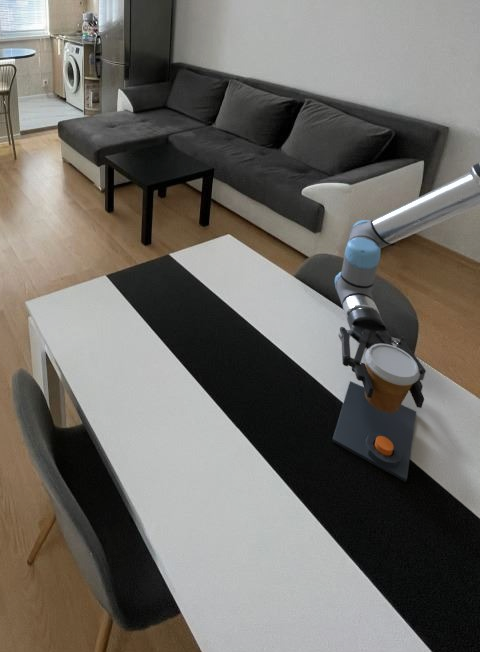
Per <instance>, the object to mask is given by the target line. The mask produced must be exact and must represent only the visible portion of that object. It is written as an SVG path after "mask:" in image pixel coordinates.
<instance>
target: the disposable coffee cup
mask: <svg viewBox="0 0 480 652" xmlns="http://www.w3.org/2000/svg"><path fill="white" fill-rule="evenodd" d="M364 358H365V365H366V368H367V371H368V374H369V376H370V379H371V382H372V385H373V388H374V390H373V394H372V398H369V397H367V395H366V392H365V397H366V399H367V400H368V402H369V403H370V404H371V405H372V406H374V407H375V408H377V409H379V410H381V411H383V412H387V413H393V412H396V411H397V410H398V409H399V407H400V405H403V404H402V403H403V402H404V400H405V399H406V397H407V395H408V394H409V392H410V388H411V386H412V385H413V383H415V382H416V381H417V380H418V379H419V376H420V373H419V369H418V366H417V363H416V362H415V360H414V359H413V358H412V357H411V356H410V355H409V354H408V353H406V352H405V351H403V350H401V349H400V348H397V347H396V346H395V345H393V346H392V345H389V344H375V345H372V346H371V347H370V348H369V349H367V348H366V350H365V351H364Z"/></svg>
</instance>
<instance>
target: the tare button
mask: <svg viewBox="0 0 480 652" xmlns="http://www.w3.org/2000/svg"><path fill="white" fill-rule="evenodd" d="M375 448H376V450H377V451H378V452H379V453H381V454H382V455H384V456H390V455H391V454H392V452H393V449H394V446H393V443H392V442H391V441H390V440H389V439H388V438H386V437H383V436H378V437H377V438H376V441H375Z"/></svg>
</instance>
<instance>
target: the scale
mask: <svg viewBox="0 0 480 652" xmlns="http://www.w3.org/2000/svg"><path fill="white" fill-rule="evenodd" d="M345 393H346V394H345V396H344V399H343V403H342V406H341V410H340V413H339V417H338V420H337V423H336V426H335V430H334V433H333V437H332V440H331V441H332V443H334V444H336V445H338V446H340V447H342V448H343V449H345V450H347V451H349V452H350V453H352V454H353V455H356V456H357V457H359V458H361V459H363V460H365V461H366V462H368V463H370V464H372V465H374V466H376V467H377V468H379V469H381V470H383V471H384V472H386V473H389V474H390V475H392V476H394V477H396V478H398V479H399V480H400V481H403V482H405V483H407V480H408V477H409V476H408V475H409V468H410V460H411V453H412V447H413V439H414V431H415V424H416V417H417V411H416V410H414V409H411V408H410V407H407V406H405V405H403V404H401V405H400V407H399V409H398V410H397V411H396V412H393V413H387V412H383V411H381V410H379V409H377V408H375V407H374V406H372V405H371V404H370V403H369V402H368V400H367V399H366V397H365V389H364V386H362V385H360V384H358V383H356V382H353V381H352V380H350V381H349V383H348V387H347V390H346V392H345ZM378 436H383V437H386V438H388V439H389V440H390V441H391V442H392V443H393V446H394V449H393V452H392V454H391V455H390V456H384V455H382V454H381V453H379V452H378V451H377V450H376V448H375V441H376V438H377V437H378Z"/></svg>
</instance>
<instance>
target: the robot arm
mask: <svg viewBox="0 0 480 652" xmlns="http://www.w3.org/2000/svg"><path fill="white" fill-rule="evenodd" d="M479 206H480V161H479V162H478V163H475V164H473V165H472V166H471V168H470V171H469V172H468V173H465V174H463V175H462V176H460V177H457V178H456V179H453V180H451V181H449V182H447V183H445V184H443V185H441V186H439V187H437V188H435V189H433V190H431V191H429V192H427V193H425V194H423V195H421V196H418V197H417V198H415V199H413V200H410V201H409V202H406V203H404V204H402V205H401V206H399V207H396V208H394V209H392V210H390V211H388V212H386V213H384V214H382V215H380V216H378V217H376V218H374V219H371V220H370V219H362V220H358V221H356V222H355V223H354V224H353V226H352V228H351V229H350V231H349V237H348V240H347V244H346V246H345V250H344V257H343V261H342V267H341V271H340V272H338V273H337V274H336V275H335V277H334V286H335V287H334V288H335V290H336V291H335V292H336V293H337V295H338V298H339V300H340V301H339V302H340V304H341V306H342V310H343V312H344V315H345V318H346V321H347V324H348V327H349V329H346V328H345V327H344V326H340V327H339V331H338V334H337V335H338V339H340V342H341V359H342V360H341V361H342V365H343V366H344V367H351V371H352V372H353V373H354V374H355V378H356V379H357V381H359V382H362V385H363V386H362V387H364V389H365V392H366V395H367V397H369V398H372V394H373V390H374V388H373V385H372V382H371V379H370V376H369V374H368V371H367V368H366V362H365V363H364V362H362V360H363V356H364V355H365V352H366V350H367V349H369V348H370V347H371V346H372V345H375V344H389V345H392V346H395V347H397V348H400V349H401V350H403V351H405V352H406V353H408V354H409V355H410V356H411V357H412V358H413V359H414V360H415V362H416V363H417V366H418V369H419V373H420V376H419V379H418V380H417V381H416V382H415V383H413V385H412V386H411V388H410V390H409V392H410V395H411V397H412V399H413V402H414V404H415V406H416V408H417V409H418V408H419V409H422V407H423V404H424V402H425V397H424V395H423V392H422V391H423V387H424V386H423V384H422V382H421V381H423V380H424V378H425V375H426V371H427V370H426V369H425V367H424V366H423V364H422V363H421V362H420V360H419V359H418V358H417V356H416V355H415V353H414V352H413V351H412V349H411V347H410V346H409V345H408V343H407V339H406V337H404V336H399V338H396V337H394V336H392V335H391V334H390V333H389V332H388V331H387V327H386V325H385V322H384V320H383V318H382V316H381V313H380V311H379V309H378V307H377V304H376V302H375V300H374V298H373V295H372V291H373V287H374V282H375V278H376V274H377V271H378V267H379V266H378V265H379V264H380V261H381V260H380V259H381V252H382V251H381V249H383V248H385V247H388V246H390V245H392V244H394V243H397V242H398V241H401V240H404V239H406V238H408V237H410V236H413V235H415V234H417V233H419V232H421V231H424V230H426V229H429V228H431V227H434V226H436V225H439V224H441V223H443V222H445V221H447V220H449V219H451V218H454V217H457V216H458V215H461V214H463V213H466V212H468V211H471V210H473V209H475V208H477V207H479ZM351 338H352V339H353V340H355V342H357V343H358V347H357V350H356V352H355V355H354V358H353V357H351V344H350V343H351V342H350V339H351Z"/></svg>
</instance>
